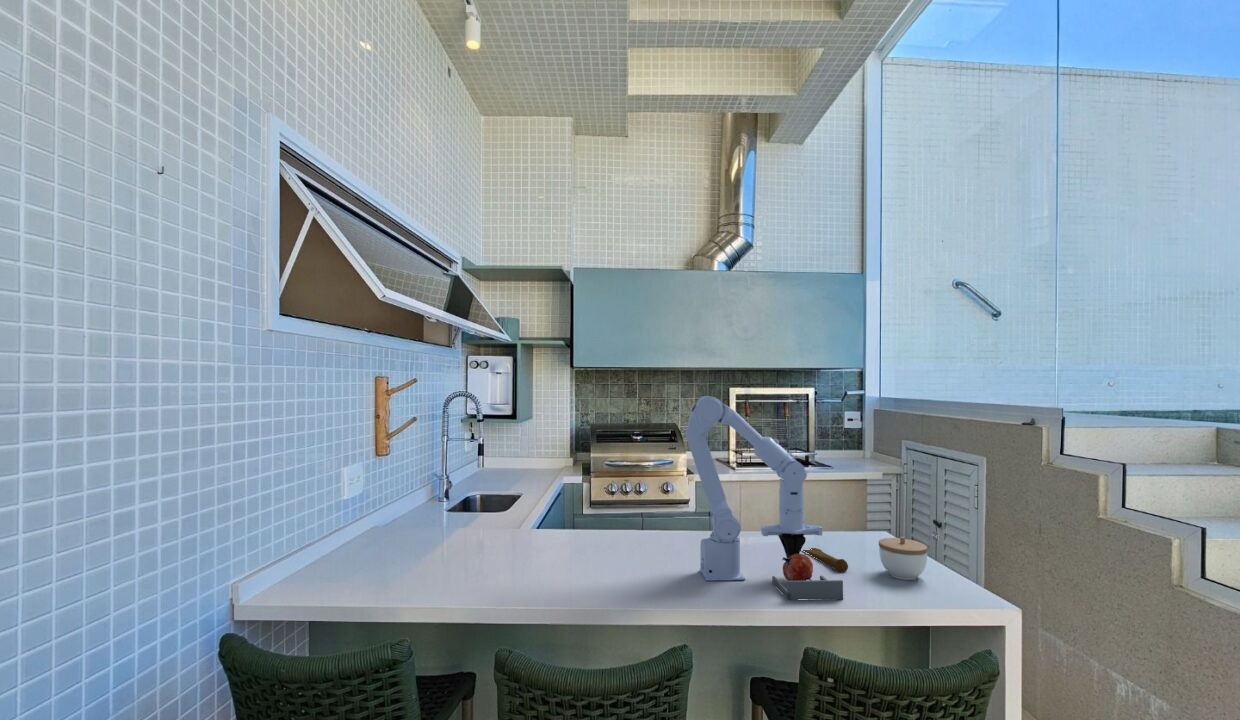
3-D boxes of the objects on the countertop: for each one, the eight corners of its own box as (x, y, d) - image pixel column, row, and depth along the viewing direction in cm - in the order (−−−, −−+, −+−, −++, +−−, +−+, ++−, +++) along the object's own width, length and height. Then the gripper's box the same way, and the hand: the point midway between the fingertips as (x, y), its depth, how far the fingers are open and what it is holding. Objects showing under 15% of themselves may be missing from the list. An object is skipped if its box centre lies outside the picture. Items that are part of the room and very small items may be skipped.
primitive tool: (798, 551, 156) (798, 538, 156) (816, 550, 157) (816, 538, 157) (836, 574, 137) (836, 560, 137) (856, 573, 138) (856, 559, 138)
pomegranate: (803, 587, 133) (770, 561, 134) (823, 565, 132) (789, 539, 133) (809, 603, 126) (774, 575, 126) (830, 580, 124) (794, 552, 125)
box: (788, 600, 119) (788, 581, 120) (772, 582, 130) (772, 565, 130) (843, 599, 120) (842, 580, 120) (822, 581, 131) (822, 564, 131)
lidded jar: (870, 569, 140) (869, 531, 141) (909, 567, 141) (908, 530, 142) (896, 584, 130) (895, 544, 130) (938, 582, 131) (937, 542, 131)
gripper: (767, 512, 130) (768, 571, 130) (827, 512, 131) (828, 570, 130) (758, 506, 137) (758, 561, 137) (815, 505, 138) (815, 560, 137)
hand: (791, 565), depth 134 cm, fingers closed, pressing on pomegranate
